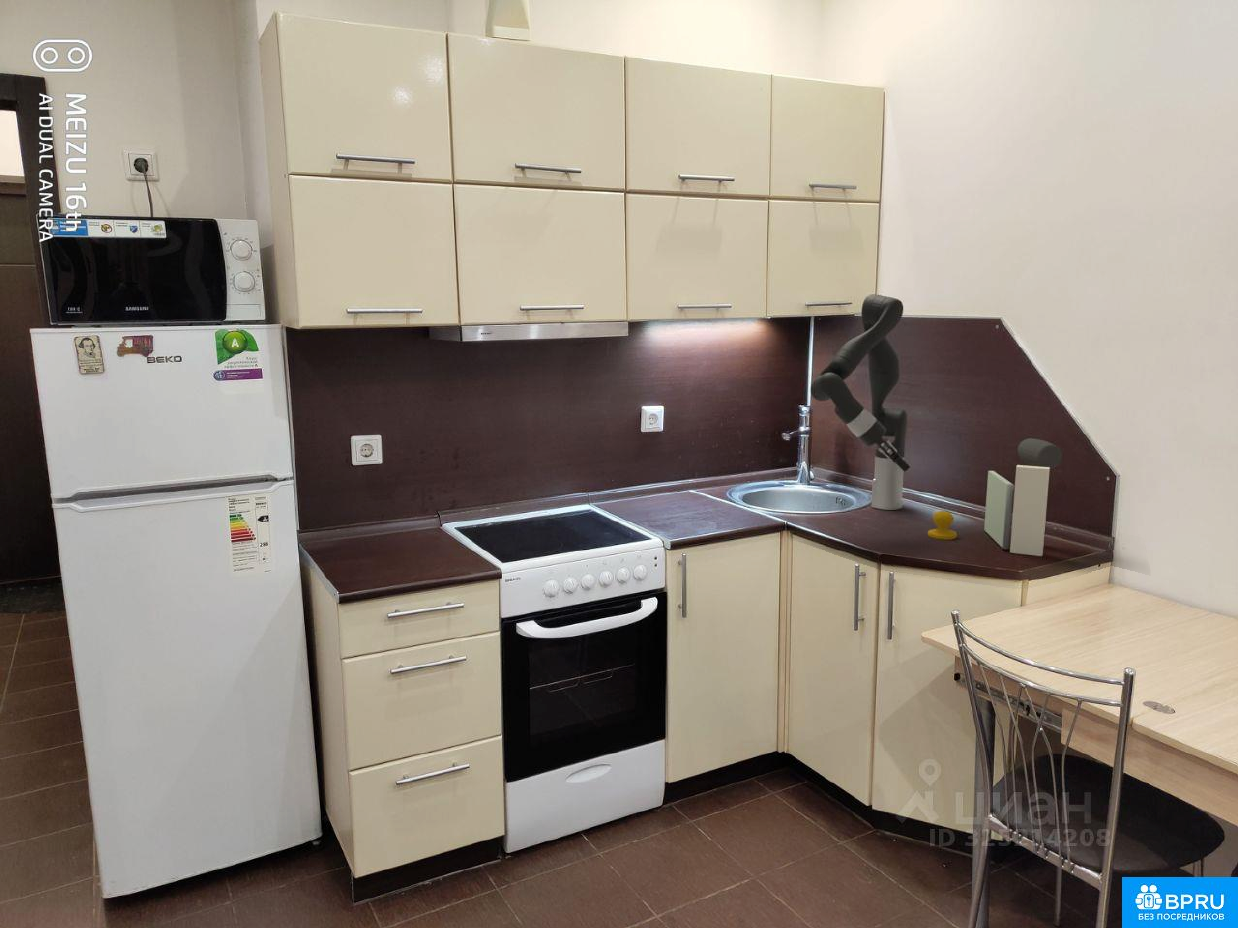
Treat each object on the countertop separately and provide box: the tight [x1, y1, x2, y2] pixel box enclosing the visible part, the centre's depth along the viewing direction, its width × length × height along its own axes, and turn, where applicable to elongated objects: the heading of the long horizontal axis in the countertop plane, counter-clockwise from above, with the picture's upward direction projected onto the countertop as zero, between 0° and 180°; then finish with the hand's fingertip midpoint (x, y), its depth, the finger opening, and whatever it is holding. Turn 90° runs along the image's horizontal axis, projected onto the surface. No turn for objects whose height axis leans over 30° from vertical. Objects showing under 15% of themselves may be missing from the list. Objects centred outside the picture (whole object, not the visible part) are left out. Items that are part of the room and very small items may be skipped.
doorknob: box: [927, 510, 958, 541], centre depth 260 cm, size 8×8×8 cm
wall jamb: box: [1009, 464, 1051, 557], centre depth 240 cm, size 8×3×24 cm, turn 62°
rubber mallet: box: [1017, 437, 1063, 470], centre depth 248 cm, size 12×8×30 cm, turn 3°
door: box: [983, 470, 1015, 550], centre depth 252 cm, size 21×2×18 cm, turn 172°
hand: (907, 469), depth 258 cm, fingers closed
